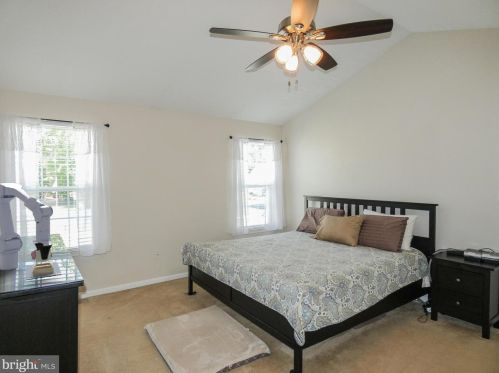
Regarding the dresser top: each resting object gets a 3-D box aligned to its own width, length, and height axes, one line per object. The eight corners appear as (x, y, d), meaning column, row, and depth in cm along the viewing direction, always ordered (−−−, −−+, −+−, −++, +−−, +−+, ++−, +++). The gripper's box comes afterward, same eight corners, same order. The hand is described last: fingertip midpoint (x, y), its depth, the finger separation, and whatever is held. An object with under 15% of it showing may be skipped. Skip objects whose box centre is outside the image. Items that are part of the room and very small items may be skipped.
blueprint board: (25, 267, 156) (25, 259, 156) (57, 263, 164) (57, 255, 164) (25, 280, 137) (25, 271, 137) (61, 274, 145) (61, 266, 145)
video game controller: (50, 259, 179) (48, 248, 181) (53, 257, 176) (51, 245, 178) (31, 262, 171) (29, 250, 173) (33, 260, 168) (31, 248, 170)
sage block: (40, 259, 148) (40, 249, 148) (50, 259, 149) (50, 249, 149) (35, 262, 144) (35, 251, 144) (46, 261, 145) (46, 251, 144)
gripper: (30, 229, 148) (30, 256, 149) (36, 233, 138) (36, 262, 138) (47, 228, 153) (47, 254, 154) (53, 231, 143) (53, 259, 143)
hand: (43, 258), depth 146 cm, fingers closed on sage block, 6 cm apart
